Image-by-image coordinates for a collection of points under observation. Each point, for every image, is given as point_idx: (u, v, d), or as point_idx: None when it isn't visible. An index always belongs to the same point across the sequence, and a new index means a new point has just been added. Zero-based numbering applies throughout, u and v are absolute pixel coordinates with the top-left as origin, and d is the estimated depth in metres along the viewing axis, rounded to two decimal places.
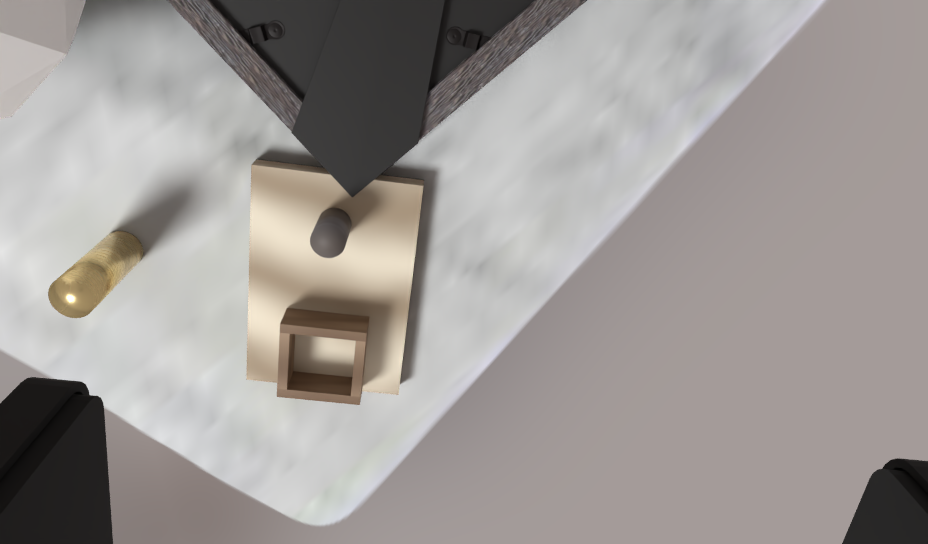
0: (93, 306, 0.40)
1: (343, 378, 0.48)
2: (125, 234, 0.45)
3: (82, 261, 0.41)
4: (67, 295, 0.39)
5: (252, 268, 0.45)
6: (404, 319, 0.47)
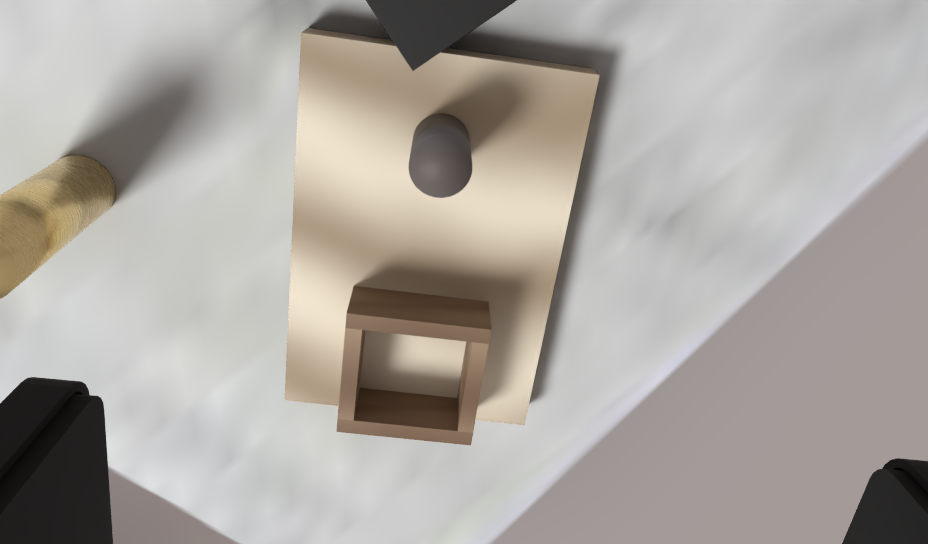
0: (14, 280, 0.21)
1: (440, 400, 0.30)
2: (85, 159, 0.27)
3: None
4: None
5: (298, 219, 0.27)
6: (545, 307, 0.29)
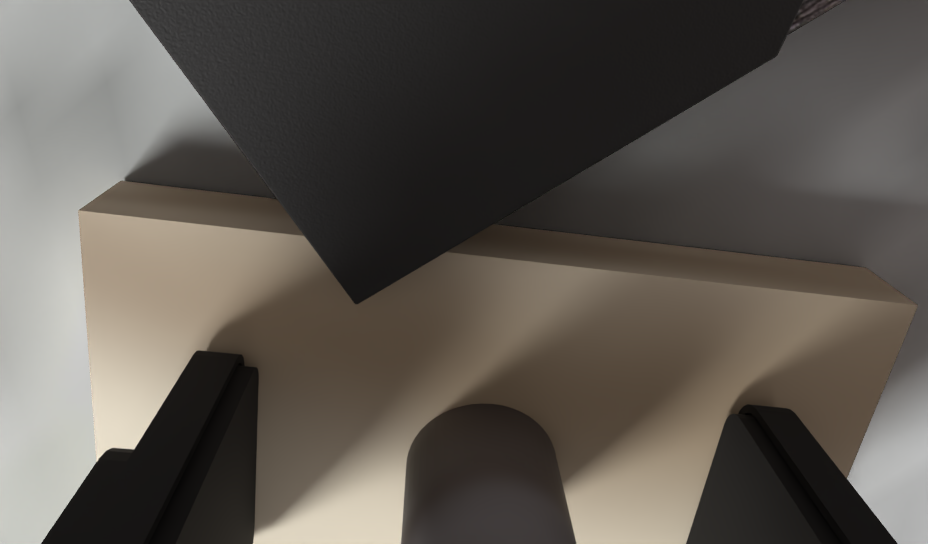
0: None
1: None
2: None
3: None
4: None
5: None
6: None
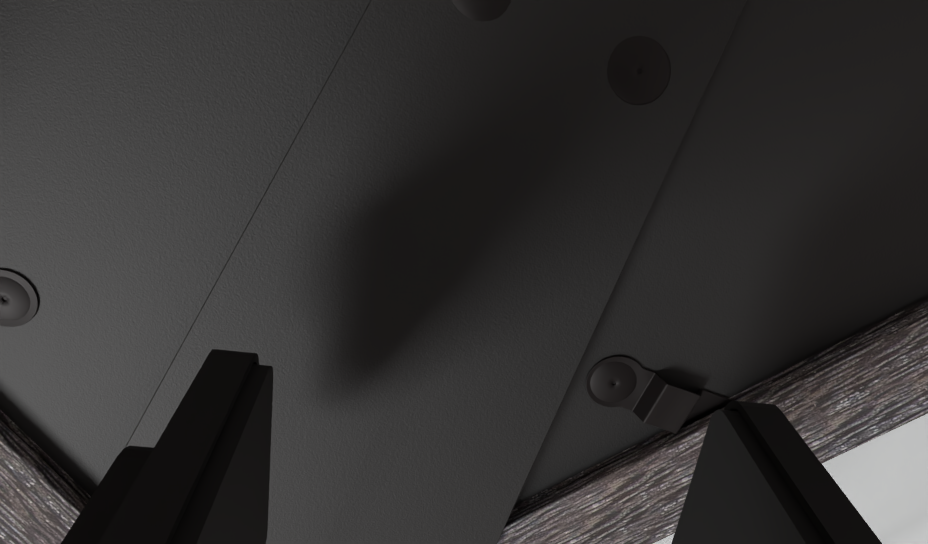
0: None
1: None
2: None
3: None
4: None
5: None
6: None
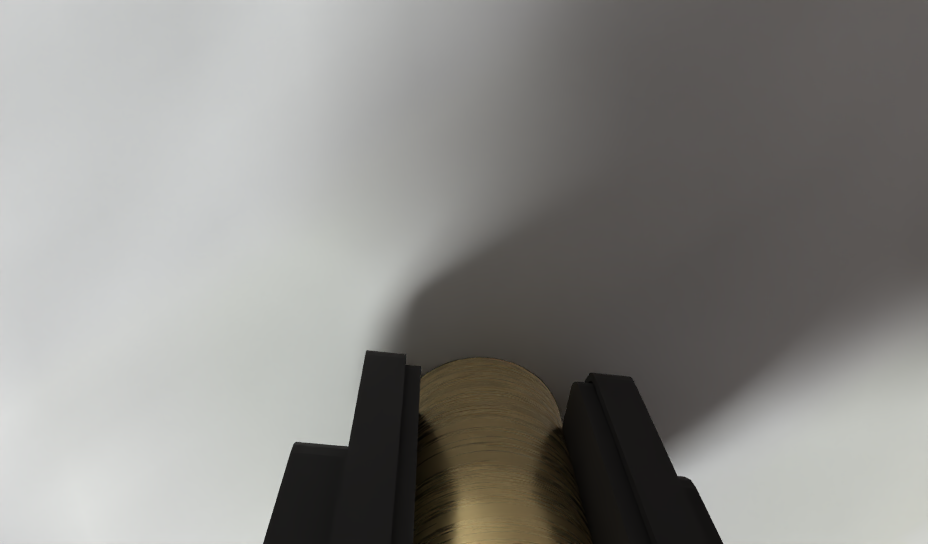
0: None
1: None
2: (515, 375, 0.10)
3: None
4: None
5: None
6: None
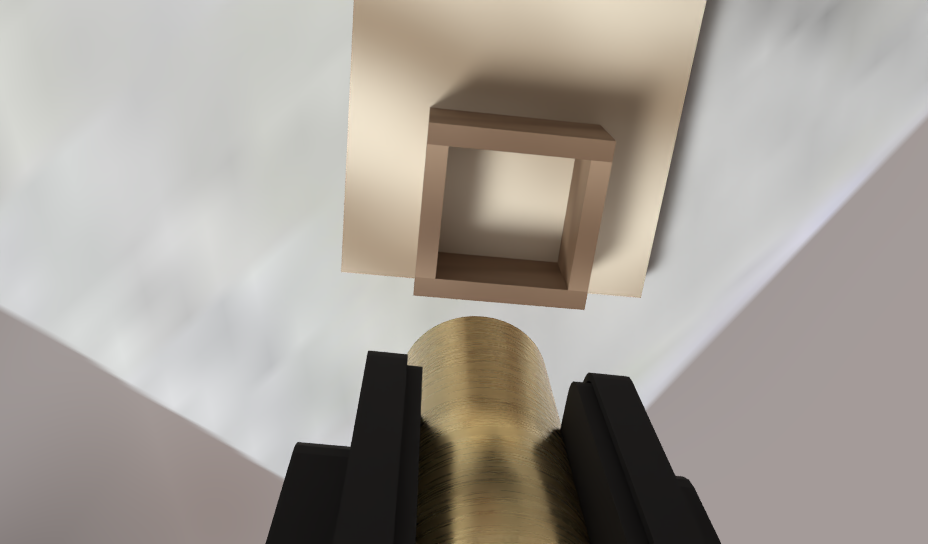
0: None
1: (538, 263, 0.24)
2: (505, 330, 0.11)
3: (472, 527, 0.07)
4: None
5: (360, 13, 0.21)
6: (672, 131, 0.23)
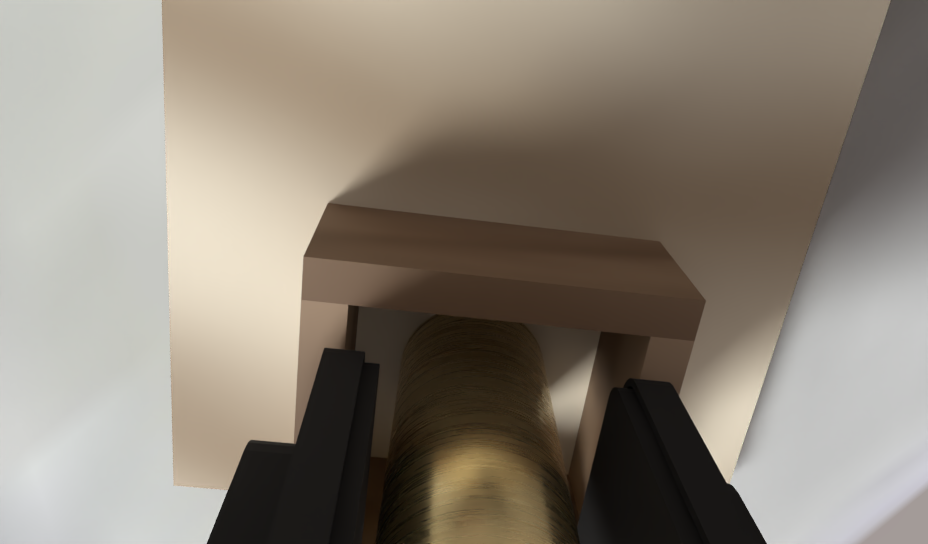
0: None
1: None
2: None
3: (457, 511, 0.08)
4: None
5: (177, 15, 0.10)
6: (795, 255, 0.12)
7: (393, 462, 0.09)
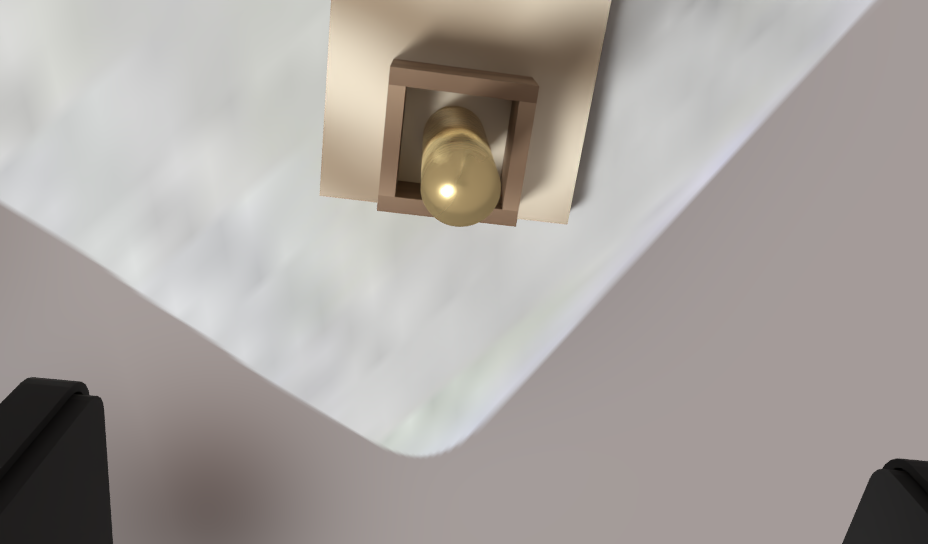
0: (495, 204, 0.22)
1: None
2: (466, 109, 0.28)
3: (450, 133, 0.24)
4: (454, 183, 0.22)
5: None
6: (590, 83, 0.28)
7: (426, 140, 0.25)
